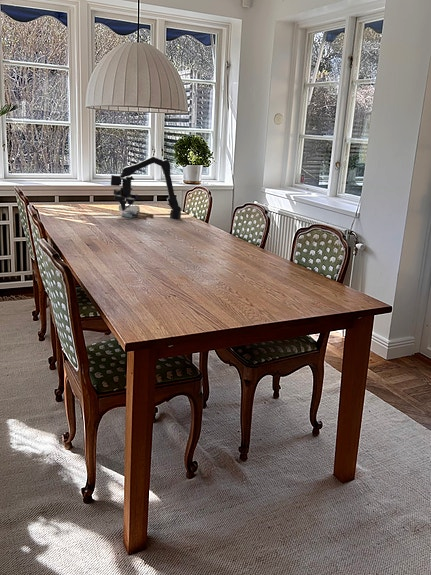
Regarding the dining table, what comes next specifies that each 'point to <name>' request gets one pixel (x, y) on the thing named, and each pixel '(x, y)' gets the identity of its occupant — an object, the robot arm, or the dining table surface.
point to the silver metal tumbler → (130, 209)
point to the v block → (129, 215)
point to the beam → (144, 215)
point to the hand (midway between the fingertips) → (126, 210)
